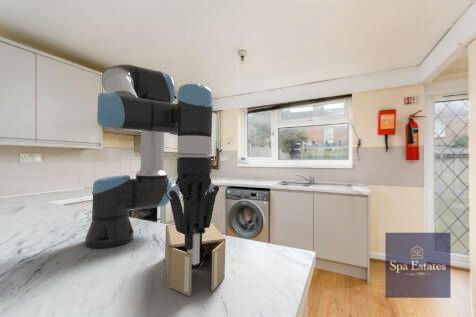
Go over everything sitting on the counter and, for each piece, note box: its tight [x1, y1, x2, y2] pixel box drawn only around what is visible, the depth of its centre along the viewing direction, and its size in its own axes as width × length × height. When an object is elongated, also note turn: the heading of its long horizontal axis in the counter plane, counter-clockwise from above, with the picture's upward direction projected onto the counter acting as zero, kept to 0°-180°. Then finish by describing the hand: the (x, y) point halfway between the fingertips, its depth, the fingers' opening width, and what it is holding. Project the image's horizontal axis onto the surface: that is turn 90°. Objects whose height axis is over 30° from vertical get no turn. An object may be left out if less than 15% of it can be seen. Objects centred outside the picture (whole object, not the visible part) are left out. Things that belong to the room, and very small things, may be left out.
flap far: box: [210, 242, 224, 292], centre depth 52 cm, size 1×6×9 cm, turn 162°
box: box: [178, 244, 205, 271], centre depth 63 cm, size 6×6×7 cm
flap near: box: [169, 248, 193, 297], centre depth 49 cm, size 1×6×9 cm, turn 59°
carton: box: [164, 221, 226, 288], centre depth 61 cm, size 16×14×10 cm
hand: (193, 261), depth 49 cm, fingers closed
